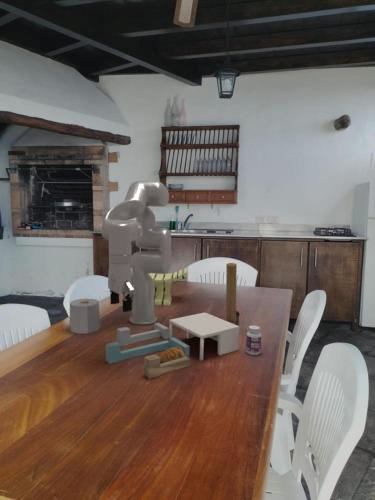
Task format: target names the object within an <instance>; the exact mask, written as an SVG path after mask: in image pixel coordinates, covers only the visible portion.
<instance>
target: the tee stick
mask: <svg viewBox="0 0 375 500" xmlns="http://www.w3.org/2000/svg"><path fill="white" fill-rule="evenodd" d="M153 329H154V330H149V331H144V332H140V333H135V334H131V329H130V328H129V327H128V326H125V327H120V328H117V329H116V342H118V343H119V344H120V345H121V347H124V346H125V347H126V346H129V345H131V344H135V343H140V342H143V341H148V340H152V339H157V338H160V337H161V338H163V339H164V340H166V339H169V337H170V327H167V326H166V325H163V324H161V323H160V322H155V323H153Z"/></svg>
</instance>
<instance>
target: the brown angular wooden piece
mask: <svg viewBox="0 0 375 500" xmlns="http://www.w3.org/2000/svg"><path fill="white" fill-rule="evenodd" d="M143 364H144V366H143V367H144V370H143V371H144V376H145V377H146V378H148V379H149V380H150V379H153V378H156V377H159V376H161V375H164V374H167V373H170V372H175V371H177V370H181V369H183V368H186V367H190V365H191V358H190V357H183V358H180V359H176V360H173V361H169V362H166V363H163V362H160V357H159V356H158V354H156V353H155V354H152V355H148V356H144V363H143Z"/></svg>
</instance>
